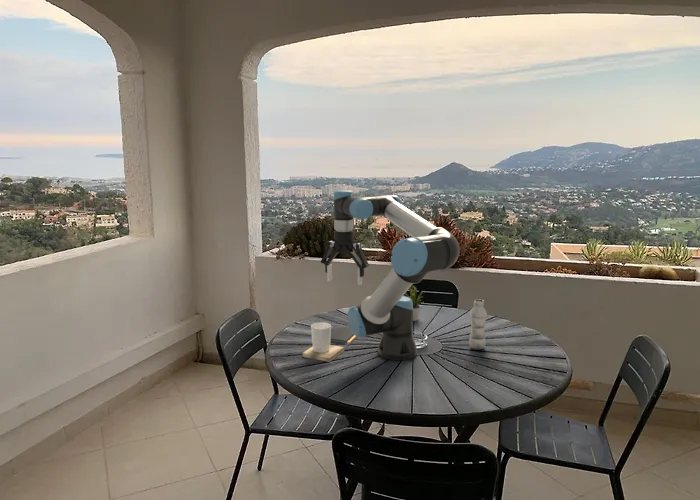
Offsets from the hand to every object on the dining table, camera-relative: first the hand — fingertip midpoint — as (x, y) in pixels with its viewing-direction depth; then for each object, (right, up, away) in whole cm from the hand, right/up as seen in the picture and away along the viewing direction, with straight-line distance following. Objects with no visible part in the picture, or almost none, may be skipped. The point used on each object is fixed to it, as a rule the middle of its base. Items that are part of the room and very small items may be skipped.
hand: (344, 282), depth 213 cm
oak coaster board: (-8, -28, -2) cm, 29 cm away
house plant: (+31, -19, +38) cm, 52 cm away
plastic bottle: (+53, -27, +1) cm, 59 cm away
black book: (-1, -25, +18) cm, 30 cm away
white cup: (-9, -26, -2) cm, 28 cm away
